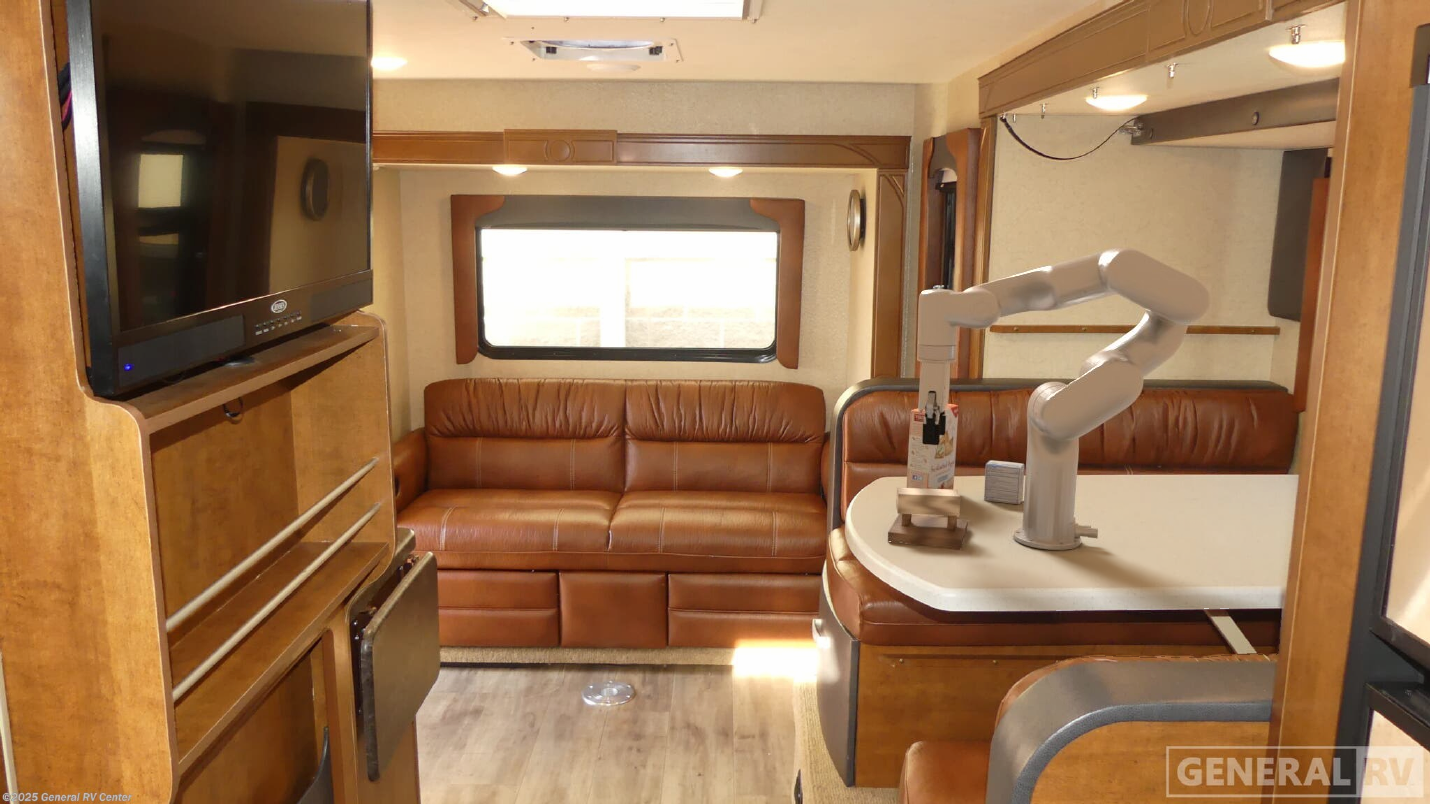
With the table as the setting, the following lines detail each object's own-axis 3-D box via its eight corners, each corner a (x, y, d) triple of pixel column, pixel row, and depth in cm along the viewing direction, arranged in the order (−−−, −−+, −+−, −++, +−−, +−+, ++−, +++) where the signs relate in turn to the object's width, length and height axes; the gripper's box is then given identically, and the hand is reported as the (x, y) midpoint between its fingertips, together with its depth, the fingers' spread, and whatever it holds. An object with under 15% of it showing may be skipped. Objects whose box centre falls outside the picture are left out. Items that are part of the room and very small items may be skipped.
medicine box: (1023, 500, 229) (1025, 463, 228) (1019, 505, 226) (1021, 467, 224) (987, 496, 233) (989, 459, 232) (983, 500, 229) (985, 463, 228)
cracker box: (929, 505, 225) (933, 412, 222) (904, 500, 229) (908, 409, 225) (955, 492, 236) (960, 404, 233) (931, 488, 240) (935, 401, 236)
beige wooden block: (956, 509, 204) (957, 489, 203) (959, 516, 199) (960, 496, 198) (896, 506, 205) (896, 487, 205) (897, 513, 200) (898, 494, 200)
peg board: (967, 529, 207) (968, 505, 206) (960, 549, 194) (961, 524, 193) (899, 522, 212) (900, 499, 211) (887, 541, 199) (888, 517, 198)
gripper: (923, 347, 206) (920, 430, 209) (910, 358, 190) (908, 447, 193) (961, 348, 203) (958, 432, 206) (951, 359, 187) (948, 449, 190)
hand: (934, 439), depth 200 cm, fingers open, 9 cm apart
